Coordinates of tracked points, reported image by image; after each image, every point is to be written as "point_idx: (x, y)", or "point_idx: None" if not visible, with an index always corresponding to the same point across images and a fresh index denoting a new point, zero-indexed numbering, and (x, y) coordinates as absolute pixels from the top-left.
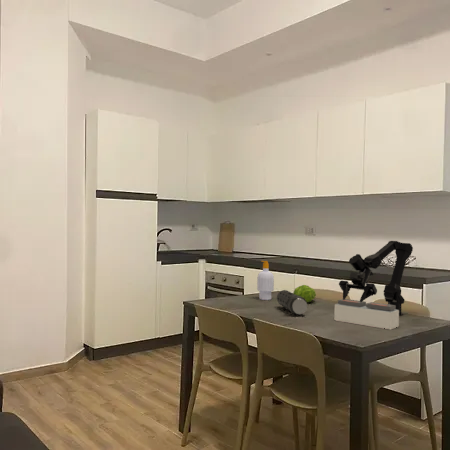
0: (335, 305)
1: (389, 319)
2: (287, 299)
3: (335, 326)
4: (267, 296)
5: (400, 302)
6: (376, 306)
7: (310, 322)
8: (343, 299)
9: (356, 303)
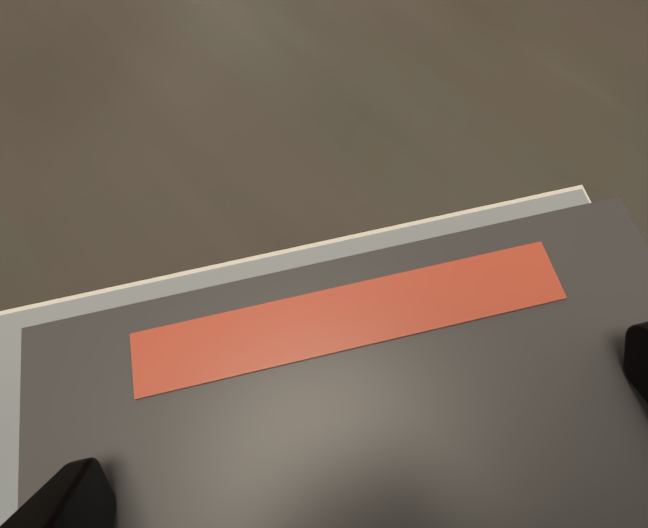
0: (560, 195)
1: None
2: None
3: (260, 97)
4: None
5: None
6: None
7: (503, 37)
8: (632, 353)
9: (134, 310)
